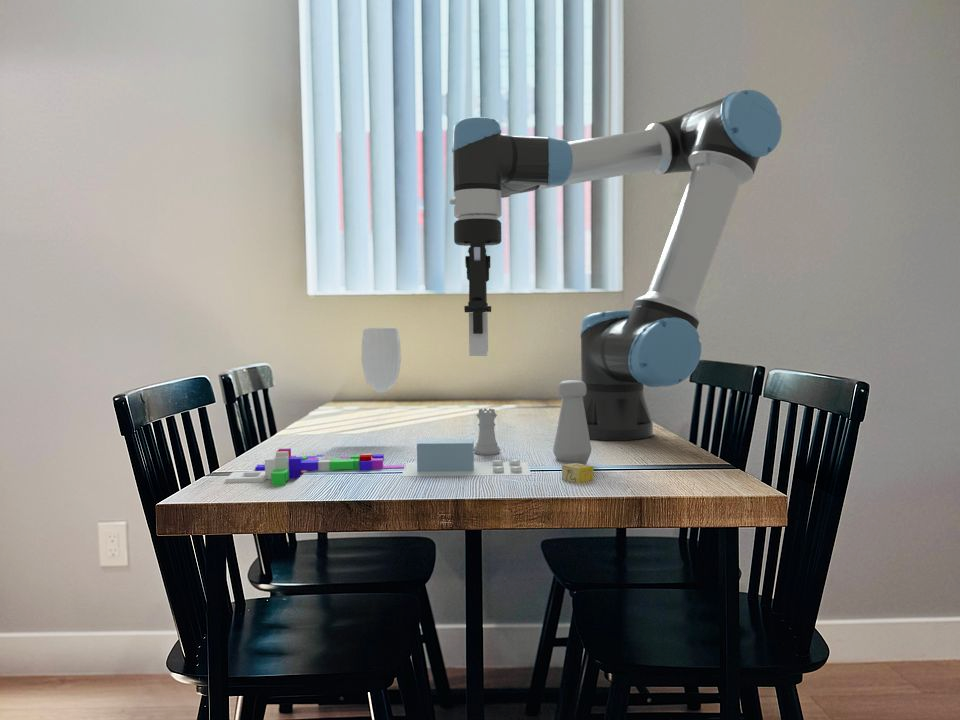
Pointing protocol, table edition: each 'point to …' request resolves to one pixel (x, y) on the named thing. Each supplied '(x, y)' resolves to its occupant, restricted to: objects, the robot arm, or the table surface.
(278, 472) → the building block set
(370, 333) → the cup
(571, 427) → the salt shaker
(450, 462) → the blue brick
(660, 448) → the table surface
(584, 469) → the alphabet block
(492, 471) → the build plate
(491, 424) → the rook chess piece
